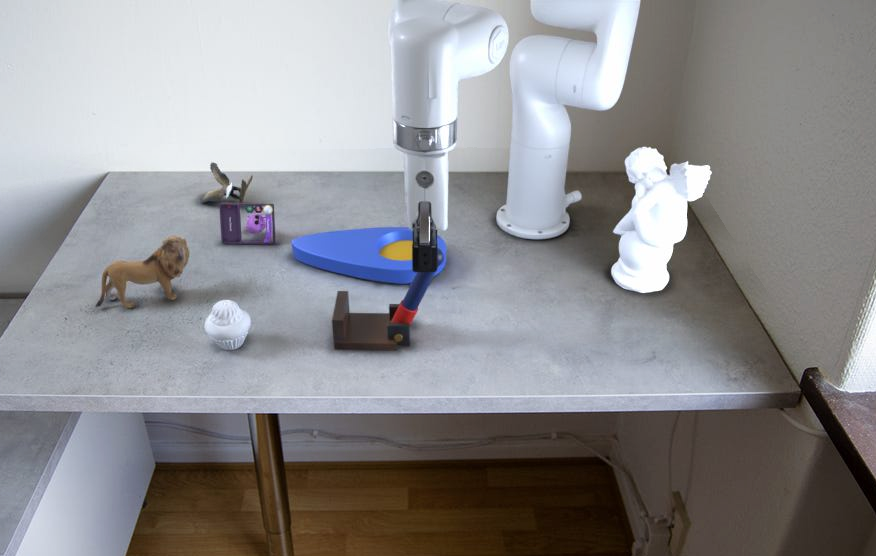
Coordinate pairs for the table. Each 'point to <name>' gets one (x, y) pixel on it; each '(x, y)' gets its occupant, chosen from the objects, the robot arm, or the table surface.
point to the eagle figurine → (224, 187)
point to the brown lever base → (366, 328)
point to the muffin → (228, 325)
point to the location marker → (363, 253)
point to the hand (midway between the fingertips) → (424, 262)
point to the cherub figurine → (654, 218)
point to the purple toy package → (254, 224)
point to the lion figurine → (147, 271)
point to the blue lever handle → (415, 294)
